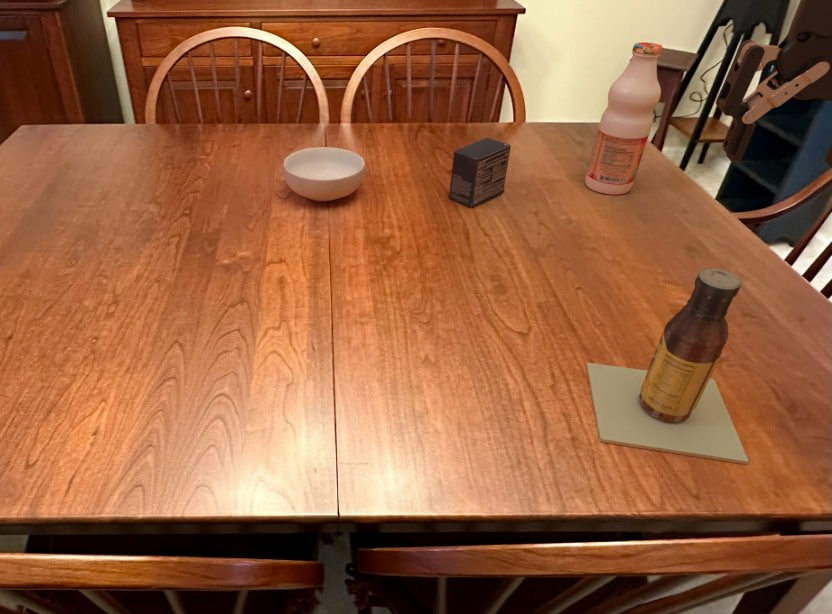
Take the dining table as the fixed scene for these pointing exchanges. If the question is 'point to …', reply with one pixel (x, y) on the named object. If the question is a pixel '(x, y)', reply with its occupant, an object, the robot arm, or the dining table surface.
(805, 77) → the robot arm
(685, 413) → the sauce bottle
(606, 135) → the fruit juice
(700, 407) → the mat
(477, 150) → the small box
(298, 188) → the cereal bowl
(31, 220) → the dining table surface
